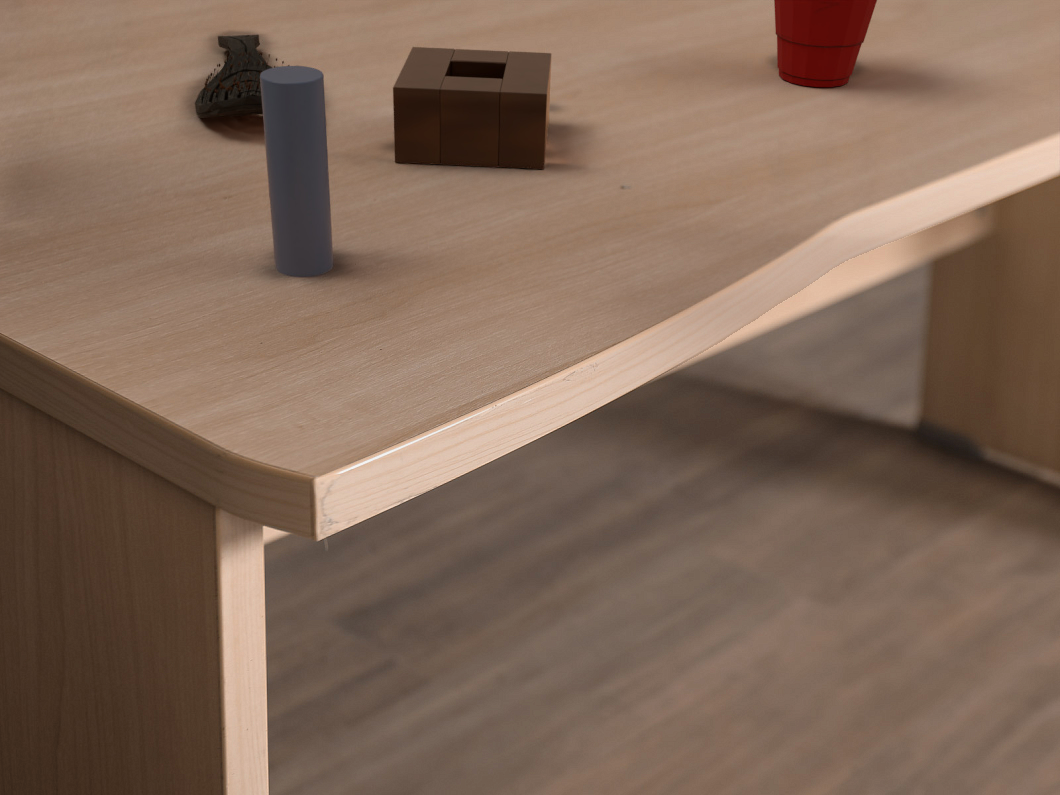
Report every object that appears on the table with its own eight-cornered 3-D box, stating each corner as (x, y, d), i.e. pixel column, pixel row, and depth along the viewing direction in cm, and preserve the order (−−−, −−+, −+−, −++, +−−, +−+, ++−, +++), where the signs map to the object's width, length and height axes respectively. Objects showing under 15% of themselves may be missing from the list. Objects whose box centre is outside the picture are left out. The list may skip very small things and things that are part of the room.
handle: (270, 293, 63) (253, 81, 58) (283, 269, 66) (267, 64, 60) (328, 296, 63) (316, 84, 58) (339, 271, 66) (328, 66, 60)
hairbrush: (283, 9, 103) (321, 79, 82) (287, 54, 105) (325, 133, 84) (182, 13, 101) (193, 86, 80) (187, 58, 103) (200, 141, 82)
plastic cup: (722, 63, 104) (739, -88, 98) (835, 56, 107) (858, -90, 101) (784, 102, 95) (806, -62, 89) (905, 93, 98) (935, -66, 92)
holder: (394, 162, 80) (392, 87, 78) (413, 116, 89) (412, 46, 86) (544, 169, 80) (547, 94, 78) (548, 122, 89) (551, 52, 86)
